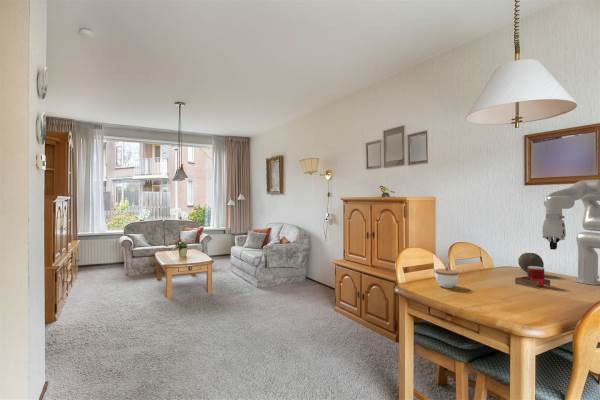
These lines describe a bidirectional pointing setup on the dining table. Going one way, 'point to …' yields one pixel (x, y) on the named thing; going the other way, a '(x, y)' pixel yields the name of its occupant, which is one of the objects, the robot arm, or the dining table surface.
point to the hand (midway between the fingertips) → (553, 249)
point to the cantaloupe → (530, 261)
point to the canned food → (536, 275)
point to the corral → (529, 282)
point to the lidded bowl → (446, 277)
